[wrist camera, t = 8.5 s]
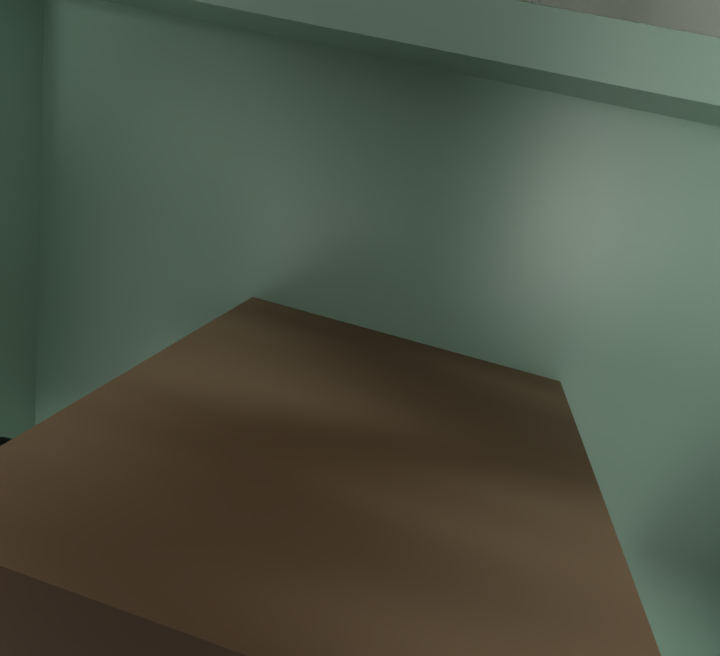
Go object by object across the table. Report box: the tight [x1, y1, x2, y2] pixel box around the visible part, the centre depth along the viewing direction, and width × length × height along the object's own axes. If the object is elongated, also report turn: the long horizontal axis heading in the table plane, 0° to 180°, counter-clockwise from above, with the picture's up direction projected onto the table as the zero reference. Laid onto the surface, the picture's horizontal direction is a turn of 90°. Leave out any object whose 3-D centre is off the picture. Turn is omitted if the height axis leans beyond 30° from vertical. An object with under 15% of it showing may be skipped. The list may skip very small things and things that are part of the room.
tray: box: [0, 0, 720, 656], centre depth 9 cm, size 14×14×2 cm
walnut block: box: [0, 297, 661, 656], centre depth 7 cm, size 5×5×6 cm
